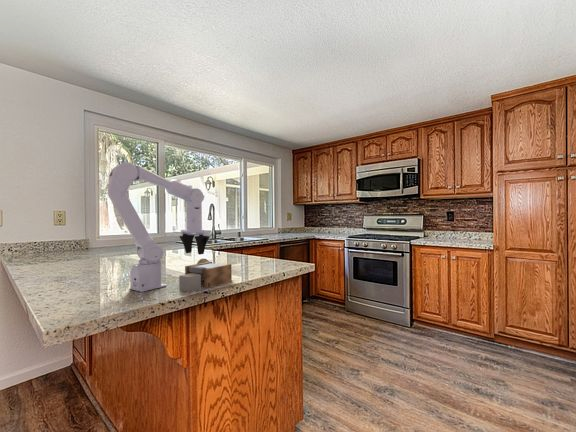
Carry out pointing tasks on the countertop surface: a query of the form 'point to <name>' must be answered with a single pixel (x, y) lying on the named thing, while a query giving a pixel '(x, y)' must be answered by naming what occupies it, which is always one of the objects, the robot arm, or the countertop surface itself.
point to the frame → (213, 274)
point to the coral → (202, 261)
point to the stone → (190, 282)
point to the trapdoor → (202, 268)
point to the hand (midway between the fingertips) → (194, 253)
